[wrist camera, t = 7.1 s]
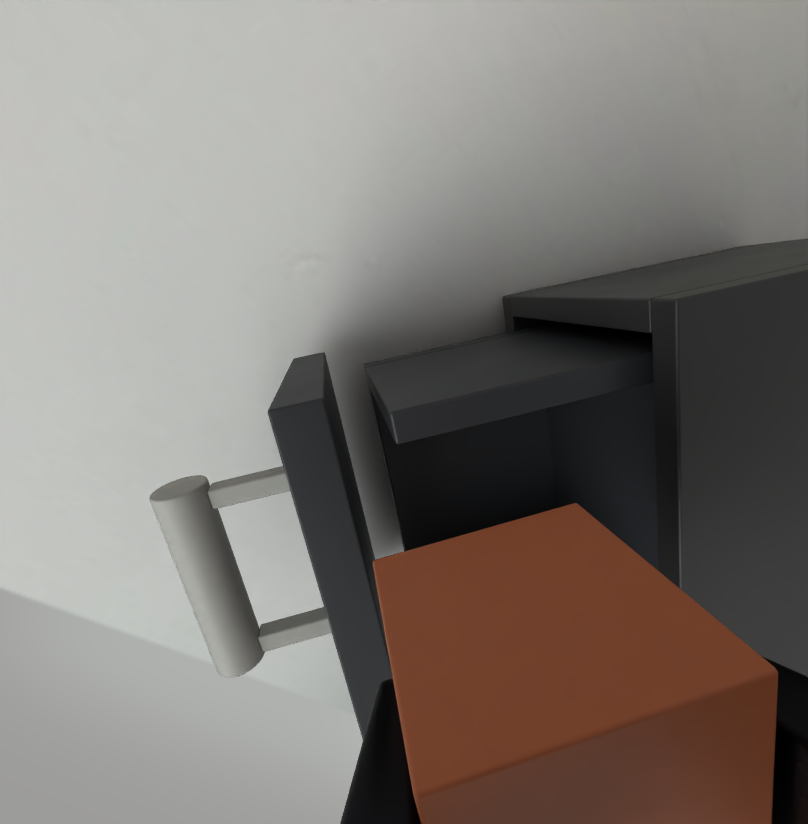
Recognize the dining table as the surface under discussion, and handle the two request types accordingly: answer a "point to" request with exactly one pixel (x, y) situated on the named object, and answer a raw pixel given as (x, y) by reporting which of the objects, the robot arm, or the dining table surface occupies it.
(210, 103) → the dining table surface
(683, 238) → the dining table surface
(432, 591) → the block
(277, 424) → the drawer
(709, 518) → the cabinet
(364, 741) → the robot arm
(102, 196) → the dining table surface
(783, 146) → the dining table surface
